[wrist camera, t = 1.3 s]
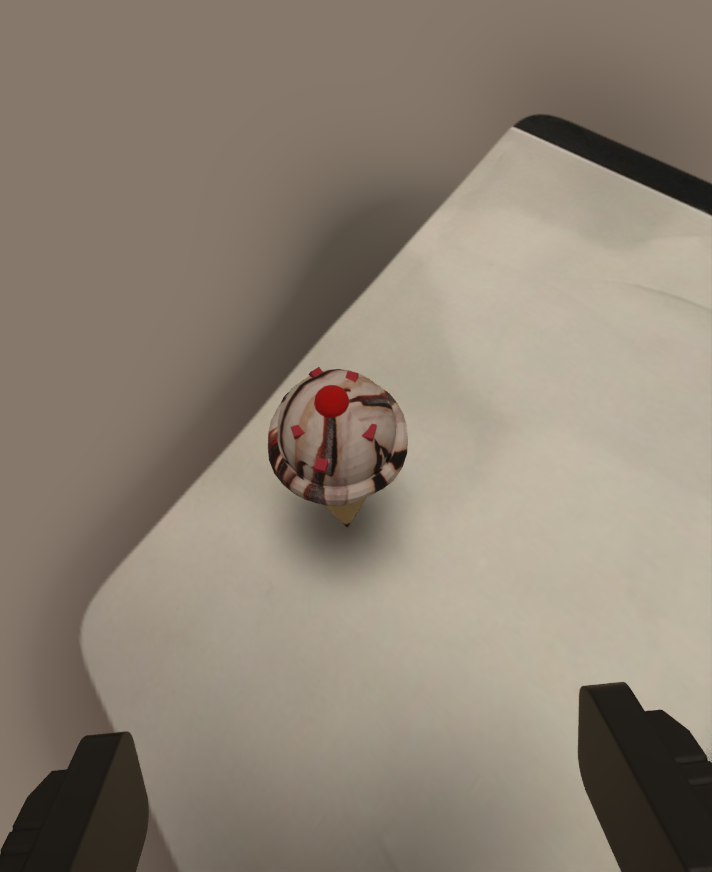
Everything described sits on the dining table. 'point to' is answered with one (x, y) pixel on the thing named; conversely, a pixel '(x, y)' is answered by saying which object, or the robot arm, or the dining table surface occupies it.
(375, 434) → the ice cream cone
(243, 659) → the dining table surface
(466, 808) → the dining table surface
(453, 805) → the dining table surface
